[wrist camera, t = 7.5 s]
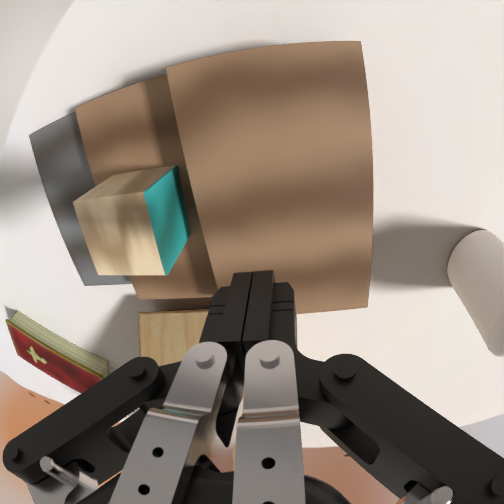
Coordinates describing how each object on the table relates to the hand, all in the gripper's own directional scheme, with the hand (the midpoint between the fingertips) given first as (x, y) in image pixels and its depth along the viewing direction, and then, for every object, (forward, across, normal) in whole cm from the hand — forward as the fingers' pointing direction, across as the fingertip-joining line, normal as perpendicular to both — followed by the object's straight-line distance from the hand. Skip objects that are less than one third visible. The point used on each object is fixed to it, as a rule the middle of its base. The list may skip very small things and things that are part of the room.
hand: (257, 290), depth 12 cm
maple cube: (+9, +7, 0) cm, 12 cm away
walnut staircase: (+16, +9, 0) cm, 18 cm away
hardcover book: (+17, +42, +25) cm, 52 cm away
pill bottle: (+16, -22, +11) cm, 29 cm away
